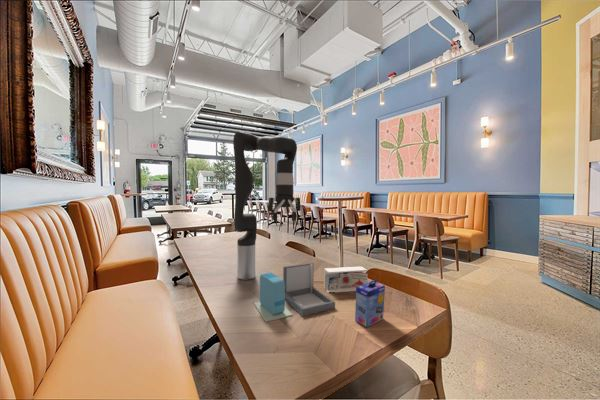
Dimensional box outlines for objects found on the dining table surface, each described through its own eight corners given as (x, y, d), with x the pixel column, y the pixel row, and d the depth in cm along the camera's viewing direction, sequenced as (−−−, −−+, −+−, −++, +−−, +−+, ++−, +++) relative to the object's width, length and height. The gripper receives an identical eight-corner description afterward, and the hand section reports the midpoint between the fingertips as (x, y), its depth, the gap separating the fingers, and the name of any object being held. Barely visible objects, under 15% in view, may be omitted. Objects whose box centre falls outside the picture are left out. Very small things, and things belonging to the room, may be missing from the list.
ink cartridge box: (367, 328, 80) (368, 284, 79) (354, 321, 84) (354, 279, 84) (385, 319, 86) (385, 278, 85) (371, 312, 90) (372, 274, 90)
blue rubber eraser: (284, 313, 89) (285, 280, 88) (273, 316, 86) (273, 283, 86) (269, 301, 99) (270, 271, 98) (259, 303, 96) (259, 273, 96)
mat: (253, 303, 97) (253, 302, 97) (277, 299, 101) (277, 298, 101) (265, 321, 83) (265, 320, 83) (292, 315, 88) (292, 314, 88)
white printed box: (327, 293, 108) (327, 272, 108) (323, 288, 114) (324, 268, 113) (369, 289, 112) (369, 269, 112) (363, 285, 118) (364, 266, 117)
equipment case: (283, 297, 103) (283, 266, 103) (312, 291, 110) (312, 262, 109) (302, 316, 87) (302, 280, 87) (335, 308, 93) (335, 274, 93)
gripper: (296, 184, 113) (295, 219, 113) (266, 183, 106) (266, 221, 107) (303, 184, 106) (302, 221, 106) (272, 183, 100) (271, 223, 100)
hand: (284, 221), depth 107 cm, fingers open, 8 cm apart
